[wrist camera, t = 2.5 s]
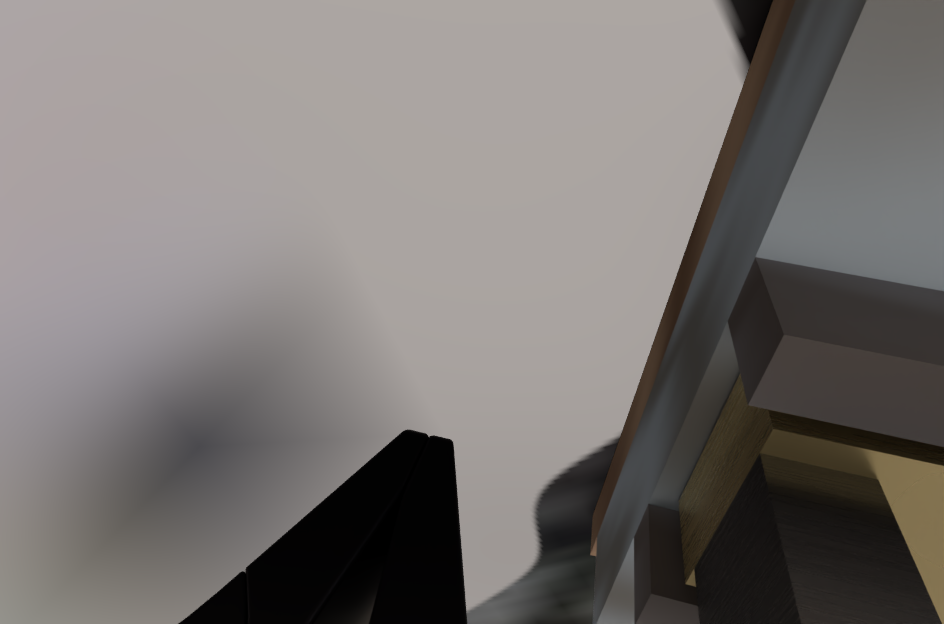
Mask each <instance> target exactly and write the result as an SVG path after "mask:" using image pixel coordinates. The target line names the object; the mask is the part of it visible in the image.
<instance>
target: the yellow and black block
mask: <svg viewBox="0 0 944 624" xmlns="http://www.w3.org/2000/svg"><path fill="white" fill-rule="evenodd" d="M679 514H680V526H681V538H682V550H683V562H684V574H685V584H687V585H691V586H695V587H696V592H697V602H698V612H699V623H700V624H944V447H941V446H936V445H932V444H927V443H922V442H918V441H913V440H908V439H904V438H899V437H894V436H890V435H885V434H880V433H876V432H871V431H866V430H862V429H857V428H852V427H848V426H843V425H838V424H834V423H829V422H824V421H820V420H815V419H810V418H806V417H801V416H796V415H792V414H787V413H782V412H778V411H773V410H768V409H764V408H759V407H754V406H750V405H748V403H747V399H746V395H745V391H744V387H743V383H742V378H741V374H740V375H739V377H738V379H737V381H736V383H735V385H734V387H733V390H732V392H731V394H730V396H729V398H728V400H727V402H726V404H725V406H724V408H723V410H722V412H721V415H720V417H719V419H718V421H717V423H716V425H715V427H714V429H713V431H712V433H711V435H710V437H709V439H708V442H707V444H706V446H705V448H704V450H703V452H702V454H701V456H700V458H699V460H698V462H697V464H696V466H695V469H694V471H693V473H692V475H691V477H690V479H689V481H688V483H687V485H686V487H685V489H684V491H683V494H682V496H681V498H680V500H679Z"/></svg>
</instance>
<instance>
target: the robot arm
mask: <svg viewBox="0 0 944 624" xmlns="http://www.w3.org/2000/svg"><path fill="white" fill-rule="evenodd" d="M179 624H467V615H466V602H465V588H464V576H463V563H462V549H461V536H460V523H459V510H458V498H457V484H456V471H455V458H454V446H453V442H452V440H450V439H446V438H442V437H438V436H430V437H428V435H427V434H425V433H421V432H417V431H413V430H405V431H403V432H402V433H401V434H399V435H398V436H397V437H396V438H395V439H394V440H392V441H391V442H390V443H389V444H388V445H387V446H385V448H383V449H382V450H381V451H380V452H379V453H377V454H376V455H375V456H374V457H373V458H372V459H371V460H369V461H368V462H367V463H366V464H365V465H364V466H363V467H361V468H360V469H359V470H358V471H357V472H356V473H355V474H353V475H352V476H351V477H350V478H349V479H348V480H346V481H345V482H344V483H343V484H342V485H341V486H339V488H337V489H336V490H335V491H334V492H333V493H331V494H330V495H329V496H328V497H327V498H326V499H325V500H324V501H322V502H321V503H320V504H319V505H318V506H316V507H315V508H314V509H313V510H312V511H311V512H310V513H308V514H307V515H306V516H305V517H304V518H303V519H301V520H300V521H299V522H298V523H297V524H296V525H295V526H293V527H292V528H291V529H290V530H289V531H288V532H287V533H286V534H284V535H283V536H282V537H281V538H280V539H278V540H277V541H276V542H275V543H274V544H273V545H272V546H271V547H269V548H268V549H267V550H266V551H265V552H264V553H262V554H261V555H260V556H259V557H258V558H257V559H256V560H254V561H253V562H252V563H251V564H250V565H249V566H248V567H246V573H245V572H243V571H242V572H240V573H239V574H238V575H237V576H236V577H234V578H233V579H232V580H231V581H230V582H229V583H228V584H227V585H225V586H224V587H223V588H222V589H221V590H220V591H218V592H217V593H216V594H215V595H213V597H211V598H210V599H209V600H207V601H206V602H205V603H204V604H203V605H201V606H200V607H199V608H198V609H197V610H195V611H194V612H193V613H192V614H190V615H189V616H188V617H187V618H185V619H184V620H183V621H181V622H180V623H179Z"/></svg>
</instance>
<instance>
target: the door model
mask: <svg viewBox="0 0 944 624" xmlns="http://www.w3.org/2000/svg"><path fill="white" fill-rule="evenodd" d="M740 374H741V378H742V383H743V387H744V391H745V395H746V399H747V403H748V405H750V406H754V407H759V408H764V409H768V410H773V411H778V412H782V413H787V414H792V415H796V416H801V417H806V418H810V419H815V420H820V421H824V422H829V423H834V424H838V425H843V426H848V427H852V428H857V429H862V430H866V431H871V432H876V433H880V434H885V435H890V436H894V437H899V438H904V439H908V440H913V441H918V442H922V443H927V444H932V445H936V446H941V447H944V0H773V2H772V5H771V7H770V10H769V13H768V16H767V19H766V22H765V25H764V27H763V30H762V33H761V36H760V39H759V42H758V45H757V47H756V50H755V53H754V56H753V59H752V62H751V65H750V67H749V70H748V73H747V76H746V79H745V82H744V85H743V88H742V91H741V93H740V96H739V99H738V102H737V105H736V108H735V110H734V114H733V116H732V119H731V122H730V125H729V128H728V130H727V133H726V136H725V139H724V142H723V145H722V148H721V150H720V154H719V156H718V159H717V162H716V165H715V168H714V171H713V173H712V177H711V179H710V182H709V185H708V188H707V191H706V193H705V196H704V199H703V202H702V205H701V208H700V211H699V213H698V216H697V219H696V222H695V225H694V228H693V231H692V233H691V236H690V239H689V242H688V245H687V248H686V251H685V253H684V256H683V259H682V262H681V265H680V268H679V271H678V273H677V276H676V279H675V282H674V285H673V288H672V291H671V293H670V296H669V299H668V302H667V305H666V308H665V311H664V313H663V317H662V319H661V322H660V325H659V328H658V331H657V334H656V336H655V339H654V342H653V345H652V348H651V351H650V354H649V356H648V359H647V362H646V365H645V368H644V371H643V374H642V377H641V379H640V382H639V385H638V388H637V391H636V394H635V396H634V400H633V402H632V405H631V408H630V411H629V414H628V416H627V419H626V422H625V425H624V428H623V431H622V434H621V436H620V439H619V442H618V445H617V448H616V451H615V454H614V456H613V459H612V462H611V465H610V468H609V471H608V474H607V477H606V479H605V482H604V485H603V488H602V491H601V494H600V497H599V499H598V502H597V505H596V508H595V511H594V514H593V522H592V538H591V554H590V555H594V556H596V570H595V589H594V608H593V624H700V623H699V612H698V602H697V592H696V587H695V586H691V585H687V584H685V574H684V562H683V550H682V538H681V526H680V514H679V500H680V498H681V496H682V494H683V491H684V489H685V487H686V485H687V483H688V481H689V479H690V477H691V475H692V473H693V471H694V469H695V466H696V464H697V462H698V460H699V458H700V456H701V454H702V452H703V450H704V448H705V446H706V444H707V442H708V439H709V437H710V435H711V433H712V431H713V429H714V427H715V425H716V423H717V421H718V419H719V417H720V415H721V412H722V410H723V408H724V406H725V404H726V402H727V400H728V398H729V396H730V394H731V392H732V390H733V387H734V385H735V383H736V381H737V379H738V377H739V375H740Z"/></svg>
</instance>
